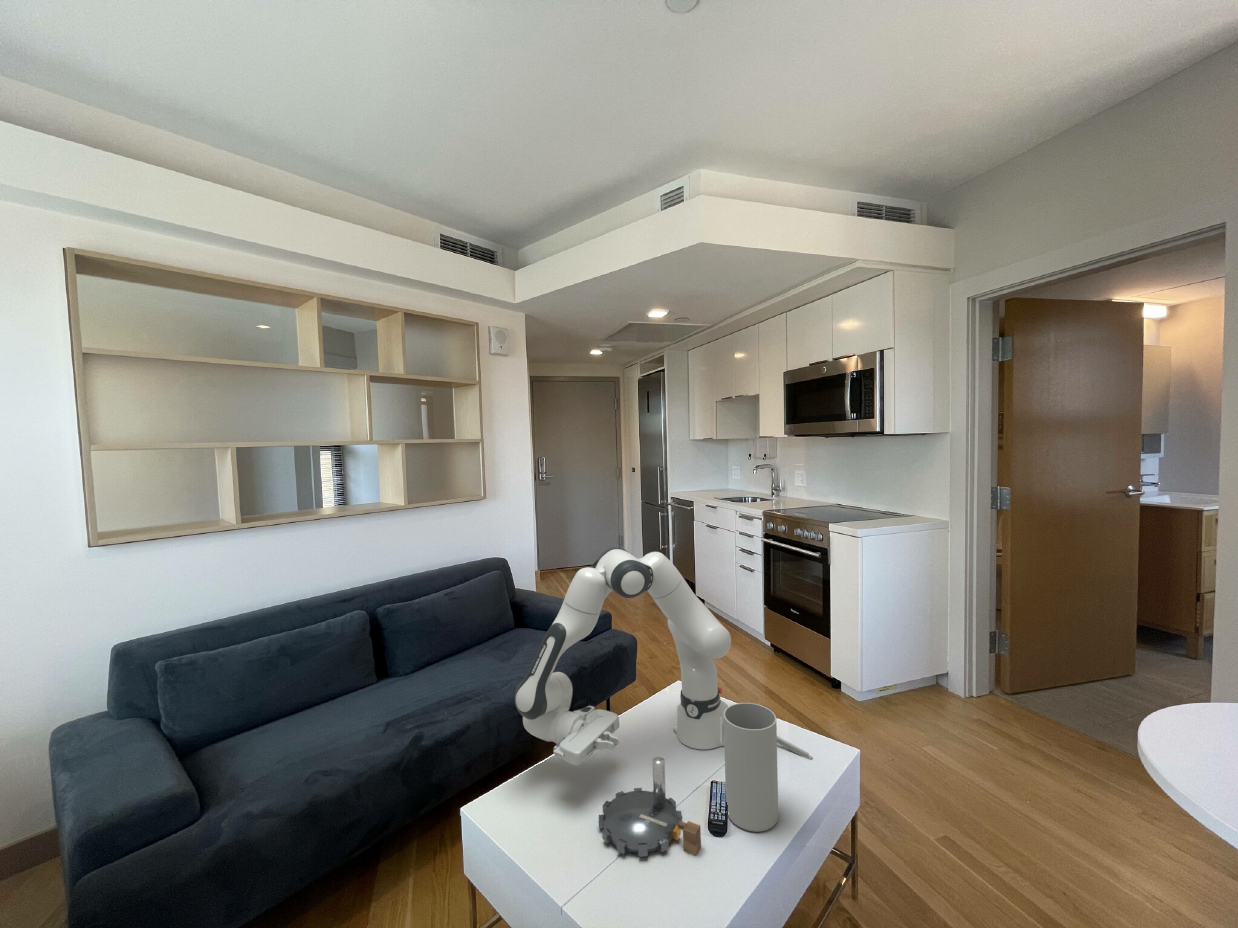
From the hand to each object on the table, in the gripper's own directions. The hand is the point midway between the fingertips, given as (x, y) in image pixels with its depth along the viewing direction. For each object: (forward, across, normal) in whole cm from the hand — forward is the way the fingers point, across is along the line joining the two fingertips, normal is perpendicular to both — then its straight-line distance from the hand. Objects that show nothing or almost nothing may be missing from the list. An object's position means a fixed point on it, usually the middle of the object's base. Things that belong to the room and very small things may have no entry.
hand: (615, 744), depth 136 cm
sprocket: (+10, -7, +14) cm, 19 cm away
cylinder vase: (+32, +10, +15) cm, 37 cm away
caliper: (+31, +41, +16) cm, 54 cm away
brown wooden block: (+24, -7, +14) cm, 29 cm away
